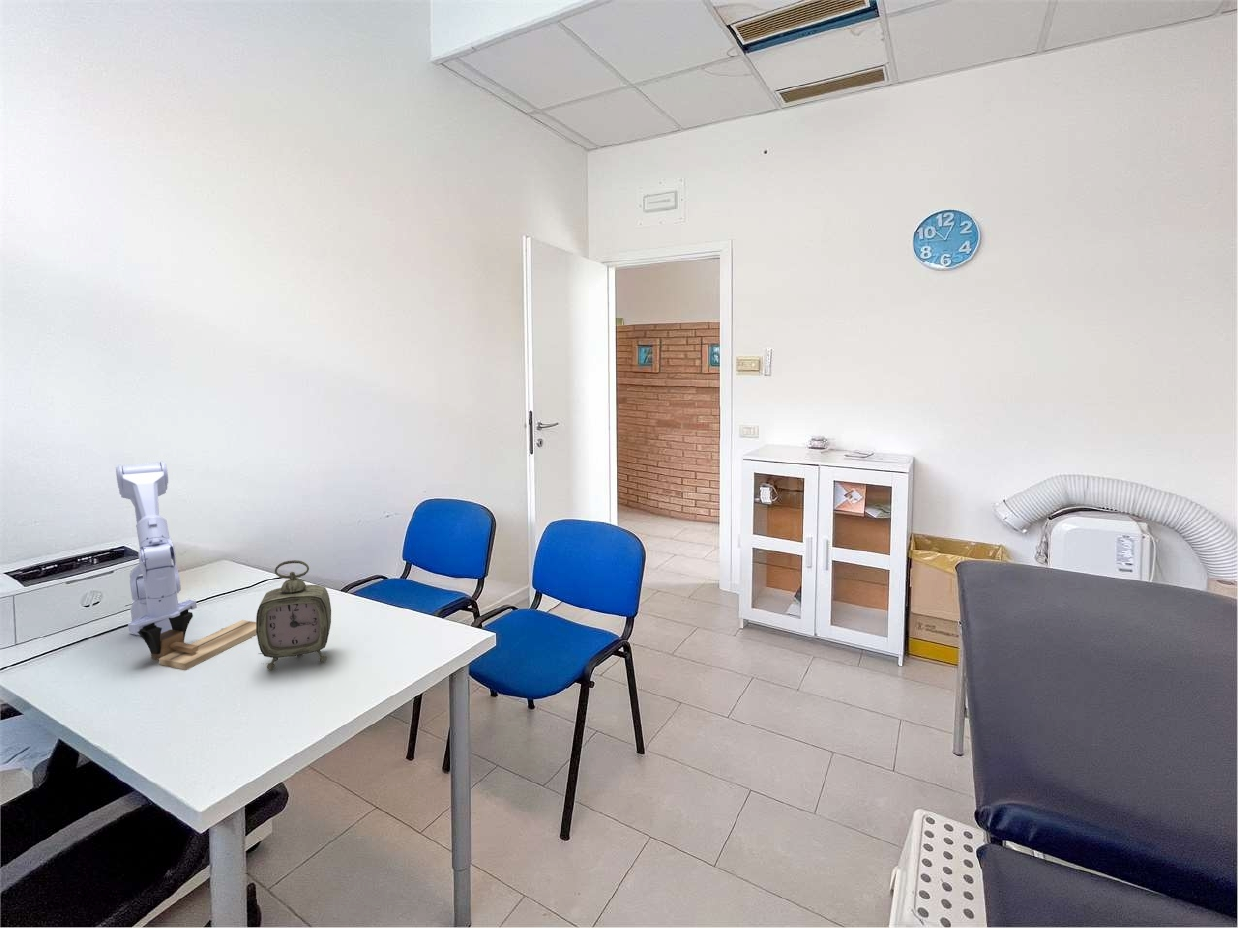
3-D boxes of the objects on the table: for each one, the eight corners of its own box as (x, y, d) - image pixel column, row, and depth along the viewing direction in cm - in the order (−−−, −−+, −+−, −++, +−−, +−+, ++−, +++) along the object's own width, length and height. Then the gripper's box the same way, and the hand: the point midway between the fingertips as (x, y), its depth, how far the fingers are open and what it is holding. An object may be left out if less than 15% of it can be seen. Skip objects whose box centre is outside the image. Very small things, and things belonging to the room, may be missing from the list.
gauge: (151, 658, 137) (149, 638, 136) (172, 648, 142) (170, 629, 141) (185, 665, 134) (183, 645, 133) (205, 655, 139) (204, 635, 138)
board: (159, 664, 134) (158, 658, 134) (243, 625, 155) (242, 619, 155) (185, 669, 132) (185, 663, 132) (267, 629, 153) (266, 623, 153)
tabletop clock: (260, 675, 131) (250, 569, 126) (267, 656, 139) (259, 557, 135) (331, 664, 136) (324, 563, 132) (334, 647, 144) (328, 551, 140)
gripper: (142, 608, 128) (148, 664, 130) (203, 585, 142) (209, 636, 144) (118, 604, 130) (125, 660, 132) (181, 581, 144) (187, 632, 146)
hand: (167, 647), depth 138 cm, fingers closed on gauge, 5 cm apart
